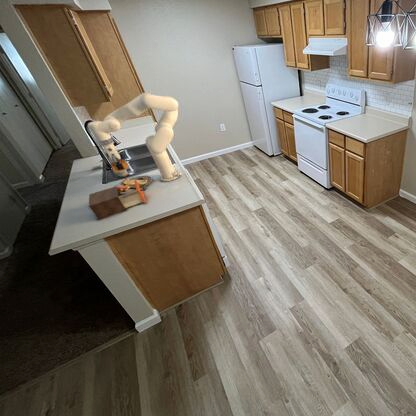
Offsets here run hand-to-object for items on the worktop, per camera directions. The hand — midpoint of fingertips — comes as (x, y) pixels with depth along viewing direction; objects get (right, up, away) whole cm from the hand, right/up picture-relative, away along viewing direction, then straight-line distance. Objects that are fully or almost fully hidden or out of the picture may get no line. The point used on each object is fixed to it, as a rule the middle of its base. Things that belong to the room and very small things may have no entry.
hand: (121, 167), depth 174 cm
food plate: (-2, -12, +14) cm, 18 cm away
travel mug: (-21, -2, +30) cm, 37 cm away
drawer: (+11, -22, -2) cm, 25 cm away
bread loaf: (0, -1, +1) cm, 1 cm away
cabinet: (+1, -27, -8) cm, 28 cm away
